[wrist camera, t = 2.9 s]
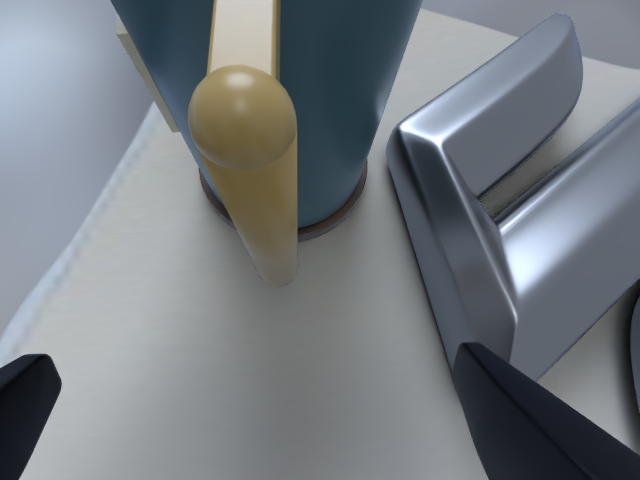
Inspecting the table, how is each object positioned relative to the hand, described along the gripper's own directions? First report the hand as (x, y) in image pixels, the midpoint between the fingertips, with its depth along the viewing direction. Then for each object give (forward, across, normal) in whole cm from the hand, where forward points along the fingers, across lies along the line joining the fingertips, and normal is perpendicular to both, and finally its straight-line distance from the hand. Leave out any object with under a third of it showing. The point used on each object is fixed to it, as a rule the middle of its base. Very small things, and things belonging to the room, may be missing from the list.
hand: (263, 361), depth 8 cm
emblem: (+14, -20, +3) cm, 25 cm away
